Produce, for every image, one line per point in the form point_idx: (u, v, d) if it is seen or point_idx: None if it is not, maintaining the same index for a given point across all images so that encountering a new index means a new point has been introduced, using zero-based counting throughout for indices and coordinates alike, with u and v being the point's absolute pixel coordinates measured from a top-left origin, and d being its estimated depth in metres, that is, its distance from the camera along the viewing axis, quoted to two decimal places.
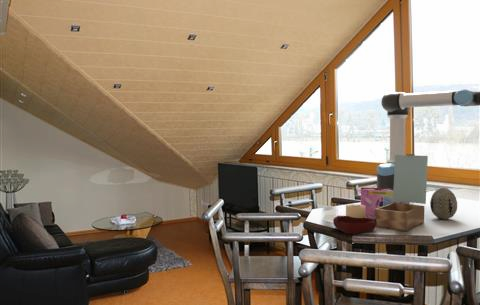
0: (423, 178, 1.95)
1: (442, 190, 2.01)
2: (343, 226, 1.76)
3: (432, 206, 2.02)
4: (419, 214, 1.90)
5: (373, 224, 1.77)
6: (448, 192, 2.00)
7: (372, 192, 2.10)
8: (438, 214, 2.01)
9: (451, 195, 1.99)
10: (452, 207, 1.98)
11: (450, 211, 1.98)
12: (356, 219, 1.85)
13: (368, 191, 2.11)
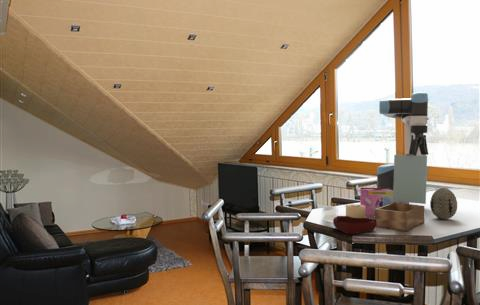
0: (423, 178, 1.95)
1: (442, 190, 2.01)
2: (343, 226, 1.76)
3: (432, 206, 2.02)
4: (419, 214, 1.90)
5: (373, 224, 1.77)
6: (448, 192, 2.00)
7: (372, 192, 2.10)
8: (438, 214, 2.01)
9: (451, 195, 1.99)
10: (452, 207, 1.98)
11: (450, 211, 1.98)
12: (356, 219, 1.85)
13: (368, 191, 2.10)
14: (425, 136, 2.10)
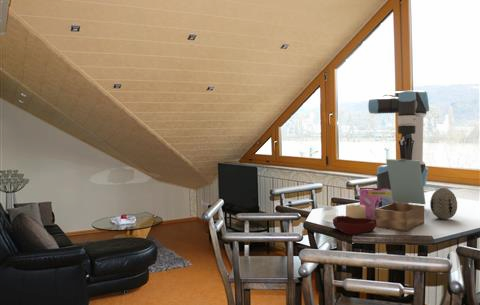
0: (419, 182, 1.91)
1: (442, 190, 2.01)
2: (343, 226, 1.76)
3: (432, 206, 2.02)
4: (419, 214, 1.90)
5: (373, 224, 1.76)
6: (448, 192, 2.00)
7: (371, 192, 2.10)
8: (438, 214, 2.01)
9: (451, 195, 1.99)
10: (452, 207, 1.98)
11: (450, 211, 1.98)
12: (356, 219, 1.84)
13: (367, 191, 2.10)
14: (413, 141, 1.98)
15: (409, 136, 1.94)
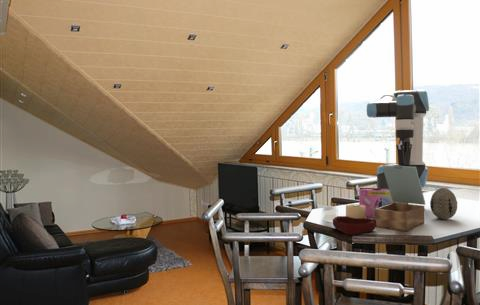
0: (417, 186, 1.89)
1: (442, 190, 2.01)
2: (342, 227, 1.75)
3: (432, 206, 2.02)
4: (419, 214, 1.90)
5: (373, 225, 1.76)
6: (448, 192, 2.00)
7: (371, 192, 2.09)
8: (438, 214, 2.01)
9: (451, 195, 1.99)
10: (452, 207, 1.98)
11: (450, 211, 1.98)
12: (356, 220, 1.84)
13: (367, 191, 2.10)
14: (411, 145, 1.96)
15: (407, 140, 1.93)
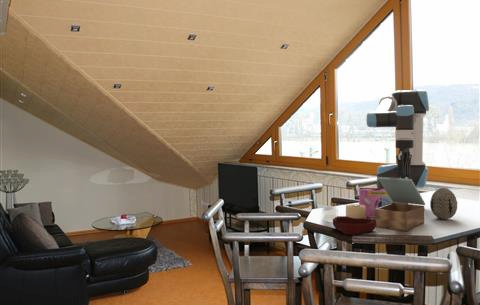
0: (415, 192, 1.87)
1: (442, 190, 2.01)
2: (342, 227, 1.75)
3: (432, 206, 2.02)
4: (419, 214, 1.90)
5: (373, 225, 1.76)
6: (448, 192, 2.00)
7: (371, 193, 2.09)
8: (438, 214, 2.01)
9: (451, 195, 1.99)
10: (452, 207, 1.98)
11: (450, 211, 1.98)
12: (355, 220, 1.84)
13: (367, 191, 2.10)
14: (411, 155, 1.96)
15: (407, 151, 1.93)
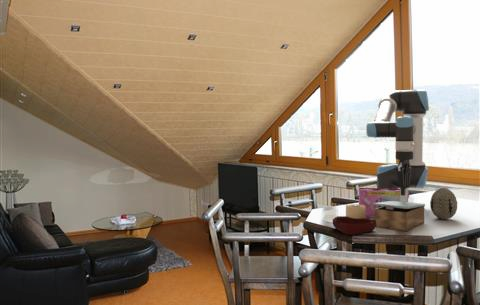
0: None
1: (442, 190, 2.01)
2: (342, 227, 1.75)
3: (432, 206, 2.02)
4: (419, 214, 1.90)
5: (372, 225, 1.75)
6: (448, 192, 2.00)
7: (371, 193, 2.09)
8: (438, 214, 2.01)
9: (451, 195, 1.99)
10: (452, 207, 1.98)
11: (450, 211, 1.98)
12: (355, 220, 1.84)
13: (367, 191, 2.10)
14: (411, 166, 1.97)
15: (407, 162, 1.93)
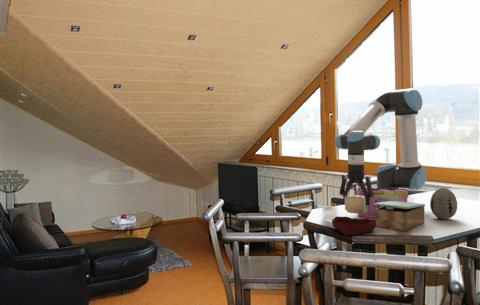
0: None
1: (442, 190, 2.01)
2: (342, 227, 1.74)
3: (432, 206, 2.02)
4: (419, 214, 1.90)
5: (372, 225, 1.75)
6: (448, 192, 2.00)
7: None
8: (438, 214, 2.01)
9: (451, 195, 1.99)
10: (452, 207, 1.98)
11: (450, 211, 1.98)
12: (355, 220, 1.83)
13: None
14: (366, 177, 1.97)
15: (356, 174, 2.00)
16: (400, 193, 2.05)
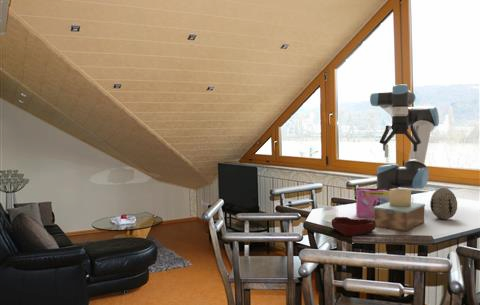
0: None
1: (442, 190, 2.01)
2: (341, 228, 1.73)
3: (432, 206, 2.02)
4: (419, 214, 1.90)
5: (372, 226, 1.74)
6: (448, 192, 2.00)
7: (369, 193, 2.08)
8: (438, 214, 2.01)
9: (451, 195, 1.99)
10: (452, 207, 1.98)
11: (450, 211, 1.98)
12: (355, 220, 1.82)
13: (365, 192, 2.08)
14: (410, 126, 2.10)
15: (400, 125, 2.13)
16: None
